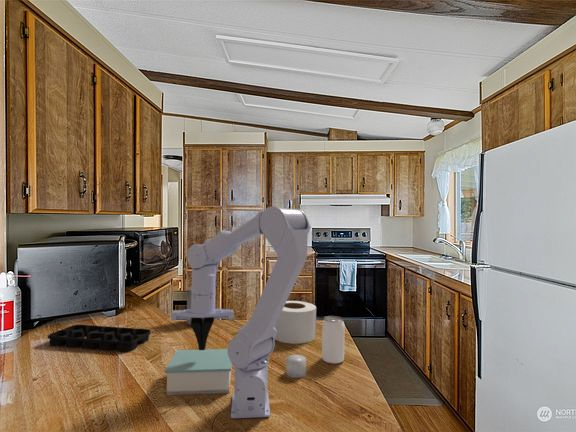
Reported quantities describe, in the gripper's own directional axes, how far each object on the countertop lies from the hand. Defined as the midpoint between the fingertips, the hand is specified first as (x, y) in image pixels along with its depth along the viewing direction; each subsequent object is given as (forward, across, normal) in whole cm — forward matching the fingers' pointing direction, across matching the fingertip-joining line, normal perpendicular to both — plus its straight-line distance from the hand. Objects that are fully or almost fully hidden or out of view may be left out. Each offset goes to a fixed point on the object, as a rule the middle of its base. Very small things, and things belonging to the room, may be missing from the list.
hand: (202, 348), depth 82 cm
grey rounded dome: (+9, -24, -4) cm, 26 cm away
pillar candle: (+9, +8, -50) cm, 51 cm away
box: (+8, 0, -1) cm, 9 cm away
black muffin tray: (+9, +36, -30) cm, 48 cm away
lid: (+3, 0, -1) cm, 3 cm away
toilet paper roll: (+9, -27, -33) cm, 44 cm away
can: (+9, -36, -12) cm, 39 cm away
